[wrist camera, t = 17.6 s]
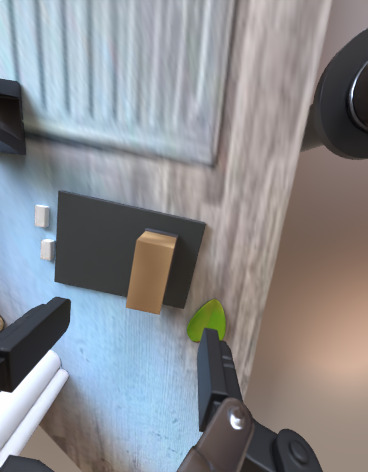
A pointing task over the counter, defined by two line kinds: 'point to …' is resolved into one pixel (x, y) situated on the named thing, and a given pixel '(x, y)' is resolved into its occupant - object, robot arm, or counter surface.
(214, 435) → the robot arm
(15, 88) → the phone stand
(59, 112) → the counter surface
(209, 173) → the counter surface
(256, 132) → the counter surface
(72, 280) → the memo board
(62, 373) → the vase
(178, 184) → the counter surface
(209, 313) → the decorative leaf
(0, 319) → the sprinkles bottle
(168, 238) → the eraser
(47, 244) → the small white block
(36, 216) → the small white block
